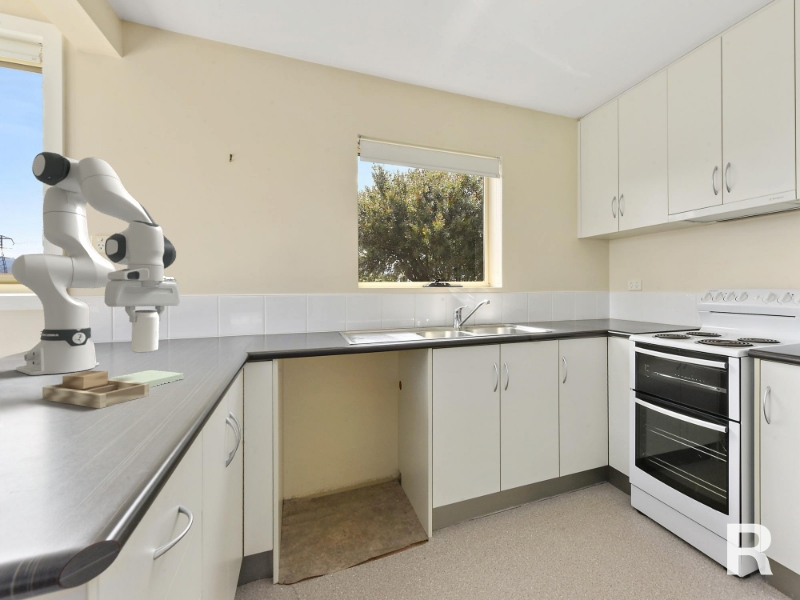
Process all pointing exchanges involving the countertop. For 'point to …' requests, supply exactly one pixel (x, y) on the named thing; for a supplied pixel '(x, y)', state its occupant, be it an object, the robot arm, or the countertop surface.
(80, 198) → the robot arm
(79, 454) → the countertop surface
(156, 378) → the board
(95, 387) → the offcut lower
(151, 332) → the can
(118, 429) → the countertop surface
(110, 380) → the rack
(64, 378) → the offcut upper
